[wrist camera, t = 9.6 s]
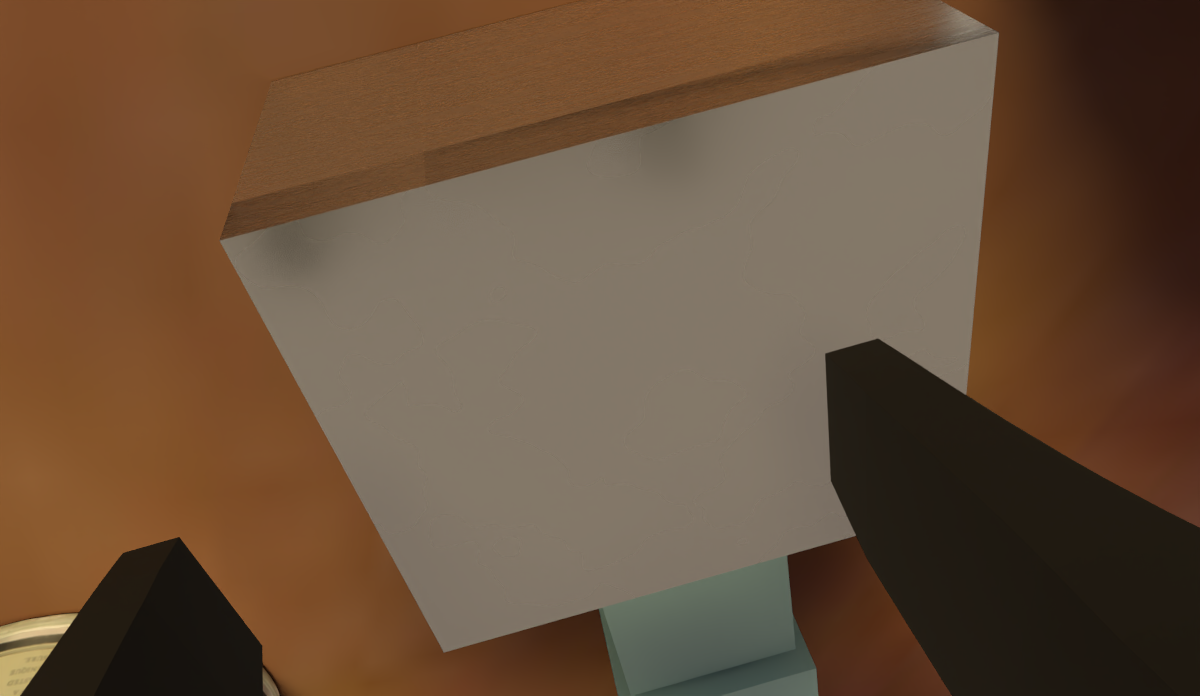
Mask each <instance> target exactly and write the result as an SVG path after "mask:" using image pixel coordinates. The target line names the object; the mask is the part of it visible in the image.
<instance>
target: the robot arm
mask: <svg viewBox="0 0 1200 696" xmlns="http://www.w3.org/2000/svg"><path fill="white" fill-rule="evenodd" d="M825 364H826V387H827V409H828V431H829V453H830V476H831V482H832V485H833V487H834V489H835V491H836V493H837V496H838V498H839V500H840V502H841V504H842V507H843V509H844V511H845V513H846V515H847V517H848V520H849V522H850V524H851V526H852V528H853V530H854V532H855V534H856V537H857V539H858V541H859V543H860V545H861V547H862V549H863V551H864V553H865V555H866V557H867V559H868V561H869V563H870V564H871V566H872V568H873V569H874V571H875V573H876V574H877V576H878V578H879V579H880V581H881V582H882V584H883V586H884V587H885V589H886V590H887V592H888V594H889V595H890V597H891V599H892V600H893V602H894V603H895V605H896V607H897V608H898V610H899V612H900V613H901V615H902V616H903V618H904V620H905V621H906V623H907V624H908V626H909V628H910V629H911V631H912V632H913V634H914V636H915V637H916V639H917V640H918V642H919V644H920V645H921V647H922V648H923V650H924V652H925V653H926V655H927V656H928V658H929V660H930V661H931V663H932V664H933V666H934V668H935V669H936V671H937V672H938V674H939V676H940V677H941V679H942V680H943V682H944V684H945V685H946V687H947V688H948V690H949V692H950V693H951V695H952V696H1200V528H1199V527H1197V526H1195V525H1193V524H1191V523H1189V522H1187V521H1185V520H1183V519H1181V518H1179V517H1177V516H1175V515H1173V514H1171V513H1169V512H1167V511H1165V510H1163V509H1161V508H1159V507H1158V506H1156V505H1154V504H1152V503H1150V502H1148V501H1146V500H1144V499H1143V498H1141V497H1139V496H1137V495H1135V494H1133V493H1131V492H1129V491H1128V490H1126V489H1124V488H1122V487H1120V486H1118V485H1116V484H1114V483H1113V482H1111V481H1109V480H1107V479H1105V478H1103V477H1101V476H1100V475H1098V474H1096V473H1094V472H1093V471H1091V470H1089V469H1087V468H1086V467H1084V466H1082V465H1080V464H1079V463H1077V462H1075V461H1073V460H1071V459H1070V458H1068V457H1066V456H1065V455H1063V454H1061V453H1060V452H1058V451H1056V450H1055V449H1053V448H1051V447H1050V446H1048V445H1046V444H1045V443H1043V442H1041V441H1040V440H1038V439H1036V438H1035V437H1033V436H1031V435H1030V434H1028V433H1026V432H1025V431H1023V430H1021V429H1020V428H1018V427H1016V426H1015V425H1013V424H1011V423H1010V422H1008V421H1006V420H1005V419H1003V418H1002V417H1000V416H998V415H997V414H995V413H994V412H992V411H990V410H989V409H987V408H986V407H984V406H982V405H981V404H979V403H978V402H976V401H975V400H973V399H972V398H970V397H968V396H967V395H965V394H964V393H962V392H961V391H959V390H957V389H956V388H954V387H953V386H951V385H950V384H948V383H947V382H945V381H944V380H942V379H940V378H939V377H937V376H936V375H934V374H933V373H931V372H930V371H928V370H927V369H925V368H924V367H922V366H921V365H919V364H917V363H916V362H914V361H913V360H911V359H910V358H908V357H907V356H905V355H904V354H902V353H900V352H899V351H897V350H896V349H894V348H893V347H891V346H889V345H888V344H886V343H885V342H883V341H881V340H880V339H874V340H871V341H867V342H864V343H860V344H857V345H853V346H850V347H846V348H842V349H839V350H835V351H832V352H828V353H825ZM20 696H263V663H262V645H261V644H260V642H259V641H258V640H257V638H256V637H255V636H254V634H253V633H252V632H251V630H250V629H249V628H248V627H247V625H246V624H245V623H244V621H243V620H242V619H241V617H240V616H239V615H238V613H237V612H236V611H235V610H234V608H233V607H232V606H231V604H230V603H229V602H228V600H227V599H226V598H225V596H224V595H223V594H222V593H221V591H220V590H219V589H218V587H217V586H216V585H215V583H214V582H213V581H212V579H211V578H210V577H209V575H208V574H207V573H206V572H205V570H204V569H203V568H202V566H201V565H200V564H199V562H198V561H197V560H196V558H195V557H194V556H193V555H192V553H191V552H190V551H189V549H188V548H187V547H186V545H185V544H184V543H183V541H182V540H181V539H180V538H179V537H178V538H174V539H171V540H167V541H164V542H160V543H157V544H153V545H150V546H146V547H143V548H139V549H136V550H132V551H129V552H125V553H123V554H122V555H121V556H120V558H119V559H118V560H117V562H116V563H115V564H114V565H113V567H112V568H111V569H110V571H109V572H108V573H107V575H106V576H105V577H104V579H103V580H102V581H101V583H100V584H99V585H98V587H97V588H96V590H95V591H94V592H93V594H92V595H91V596H90V598H89V599H88V601H87V602H86V603H85V605H84V606H83V608H82V609H81V610H80V612H79V613H78V615H77V616H76V617H75V619H74V620H73V622H72V623H71V625H70V626H69V627H68V629H67V630H66V632H65V633H64V634H63V636H62V637H61V639H60V640H59V642H58V643H57V644H56V646H55V647H54V649H53V650H52V651H51V653H50V654H49V656H48V657H47V659H46V660H45V661H44V663H43V664H42V666H41V667H40V668H39V670H38V671H37V673H36V674H35V675H34V677H33V678H32V680H31V681H30V682H29V684H28V685H27V687H26V688H25V689H24V691H23V692H22V694H21V695H20Z"/></svg>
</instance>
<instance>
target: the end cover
mask: <svg viewBox="0 0 1200 696" xmlns="http://www.w3.org/2000/svg"><path fill="white" fill-rule="evenodd" d="M599 613H600V617H601V621H602V626H603V630H604V635H605V639H606V644H607V648H608V653H609V657H610V662H611V666H612V671H613V675H614V680H615V684H616V689H617V693H618V696H818V685H817V671H816V666H815V664H814V662H813V659H812V657H811V655H810V653H809V650H808V648H807V646H806V643H805V641H804V639H803V636H802V634H801V632H800V630H799V627H798V625H797V623H796V620H795V618H794V616H793V613H792V603H791V593H790V583H789V572H788V562H787V555H786V556H783V557H779V558H776V559H772V560H769V561H765V562H761V563H758V564H754V565H751V566H747V567H744V568H740V569H737V570H733V571H730V572H726V573H723V574H719V575H716V576H712V577H709V578H705V579H701V580H698V581H694V582H691V583H687V584H684V585H680V586H677V587H673V588H670V589H666V590H663V591H659V592H656V593H652V594H649V595H645V596H641V597H638V598H634V599H631V600H627V601H624V602H620V603H617V604H613V605H610V606H606V607H603V608H599Z"/></svg>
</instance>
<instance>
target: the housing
mask: <svg viewBox="0 0 1200 696" xmlns="http://www.w3.org/2000/svg"><path fill="white" fill-rule="evenodd" d="M998 37H999V33H998V32H996V31H995V30H993V29H991V28H989V27H987V26H986V25H984V24H982V23H980V22H978V21H976V20H975V19H973V18H971V17H969V16H967V15H965V14H964V13H962V12H960V11H958V10H956V9H955V8H953V7H951V6H949V5H947V4H945V3H944V2H942V1H940V0H582V1H578V2H575V3H571V4H567V5H563V6H559V7H555V8H552V9H548V10H544V11H540V12H536V13H533V14H529V15H525V16H521V17H517V18H513V19H510V20H506V21H502V22H498V23H494V24H490V25H487V26H483V27H479V28H475V29H471V30H468V31H464V32H460V33H456V34H452V35H448V36H445V37H441V38H437V39H433V40H429V41H425V42H422V43H418V44H414V45H410V46H406V47H403V48H399V49H395V50H391V51H387V52H383V53H380V54H376V55H372V56H368V57H364V58H360V59H357V60H353V61H349V62H345V63H341V64H338V65H334V66H330V67H326V68H322V69H318V70H315V71H311V72H307V73H303V74H299V75H295V76H292V77H288V78H284V79H280V80H276V81H273V82H271V85H270V89H269V92H268V95H267V98H266V101H265V104H264V107H263V110H262V113H261V116H260V119H259V122H258V125H257V128H256V131H255V134H254V137H253V140H252V143H251V146H250V150H249V153H248V156H247V159H246V162H245V165H244V168H243V171H242V174H241V177H240V180H239V183H238V186H237V189H236V192H235V195H234V198H233V201H232V204H231V208H230V211H229V214H228V217H227V220H226V223H225V226H224V229H223V232H222V235H221V238H220V242H221V244H222V246H223V248H224V250H225V251H226V253H227V255H228V257H229V259H230V261H231V262H232V264H233V266H234V268H235V270H236V272H237V273H238V275H239V277H240V279H241V281H242V283H243V284H244V286H245V288H246V290H247V292H248V294H249V295H250V297H251V299H252V301H253V303H254V305H255V306H256V308H257V310H258V312H259V314H260V316H261V317H262V319H263V321H264V323H265V325H266V327H267V328H268V330H269V332H270V334H271V336H272V338H273V339H274V341H275V343H276V345H277V347H278V349H279V351H280V352H281V354H282V356H283V358H284V360H285V362H286V363H287V365H288V367H289V369H290V371H291V373H292V374H293V376H294V378H295V380H296V382H297V384H298V385H299V387H300V389H301V391H302V393H303V395H304V396H305V398H306V400H307V402H308V404H309V406H310V407H311V409H312V411H313V413H314V415H315V417H316V418H317V420H318V422H319V424H320V426H321V428H322V429H323V431H324V433H325V435H326V437H327V439H328V440H329V442H330V444H331V446H332V448H333V450H334V451H335V453H336V455H337V457H338V459H339V461H340V462H341V464H342V466H343V468H344V470H345V472H346V474H347V475H348V477H349V479H350V481H351V483H352V485H353V486H354V488H355V490H356V492H357V494H358V496H359V497H360V499H361V501H362V503H363V505H364V507H365V508H366V510H367V512H368V514H369V516H370V518H371V519H372V521H373V523H374V525H375V527H376V529H377V530H378V532H379V534H380V536H381V538H382V540H383V541H384V543H385V545H386V547H387V549H388V551H389V552H390V554H391V556H392V558H393V560H394V562H395V563H396V565H397V567H398V569H399V571H400V573H401V574H402V576H403V578H404V580H405V582H406V584H407V586H408V587H409V589H410V591H411V593H412V595H413V597H414V598H415V600H416V602H417V604H418V606H419V608H420V609H421V611H422V613H423V615H424V617H425V619H426V620H427V622H428V624H429V626H430V628H431V630H432V631H433V633H434V635H435V637H436V639H437V641H438V642H439V644H440V646H441V648H442V650H443V652H447V651H451V650H454V649H458V648H461V647H465V646H468V645H472V644H476V643H479V642H483V641H486V640H490V639H493V638H497V637H500V636H504V635H507V634H511V633H514V632H518V631H521V630H525V629H529V628H532V627H536V626H539V625H543V624H546V623H550V622H553V621H557V620H560V619H564V618H567V617H571V616H574V615H578V614H581V613H585V612H589V611H592V610H596V609H599V608H603V607H606V606H610V605H613V604H617V603H620V602H624V601H627V600H631V599H634V598H638V597H641V596H645V595H649V594H652V593H656V592H659V591H663V590H666V589H670V588H673V587H677V586H680V585H684V584H687V583H691V582H694V581H698V580H701V579H705V578H709V577H712V576H716V575H719V574H723V573H726V572H730V571H733V570H737V569H740V568H744V567H747V566H751V565H754V564H758V563H761V562H765V561H769V560H772V559H776V558H779V557H783V556H786V555H790V554H793V553H797V552H800V551H804V550H807V549H811V548H814V547H818V546H822V545H825V544H829V543H832V542H836V541H839V540H843V539H846V538H850V537H853V536H856V534H855V532H854V530H853V528H852V526H851V524H850V522H849V520H848V517H847V515H846V513H845V511H844V509H843V507H842V504H841V502H840V500H839V498H838V496H837V493H836V491H835V489H834V487H833V485H832V482H831V476H830V453H829V431H828V409H827V387H826V364H825V353H828V352H832V351H835V350H839V349H842V348H846V347H850V346H853V345H857V344H860V343H864V342H867V341H871V340H874V339H880V340H881V341H883V342H885V343H886V344H888V345H889V346H891V347H893V348H894V349H896V350H897V351H899V352H900V353H902V354H904V355H905V356H907V357H908V358H910V359H911V360H913V361H914V362H916V363H917V364H919V365H921V366H922V367H924V368H925V369H927V370H928V371H930V372H931V373H933V374H934V375H936V376H937V377H939V378H940V379H942V380H944V381H945V382H947V383H948V384H950V385H951V386H953V387H954V388H956V389H957V390H959V391H961V392H962V393H964V394H965V395H966V391H967V380H968V369H969V358H970V347H971V336H972V325H973V313H974V302H975V291H976V280H977V269H978V258H979V247H980V236H981V225H982V214H983V203H984V192H985V181H986V170H987V159H988V148H989V137H990V126H991V115H992V104H993V93H994V82H995V71H996V59H997V48H998Z"/></svg>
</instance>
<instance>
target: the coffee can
mask: <svg viewBox="0 0 1200 696" xmlns="http://www.w3.org/2000/svg"><path fill="white" fill-rule="evenodd" d="M77 615H78V613H71V614H59V615H51V616H45V617H39V618H33V619H28V620H24V621H19V622H15V623H12V624H8V625H4V626H1V627H0V696H20V695H21V694H22V692H23V691H24V689H25V688H26V687H27V685H28V684H29V682H30V681H31V680H32V678H33V677H34V675H35V674H36V673H37V671H38V670H39V668H40V667H41V666H42V664H43V663H44V661H45V660H46V659H47V657H48V656H49V654H50V653H51V651H52V650H53V649H54V647H55V646H56V644H57V643H58V642H59V640H60V639H61V637H62V636H63V634H64V633H65V632H66V630H67V629H68V627H69V626H70V625H71V623H72V622H73V620H74V619H75V617H76V616H77ZM263 696H280V695H279V691H278V689H277V687H276V685H275V683H274V681H273V680H272V678H271V676H270V675H269V674H268V673H267V671H266V670H265V669H264V668H263Z"/></svg>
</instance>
